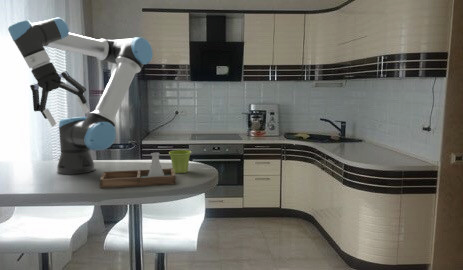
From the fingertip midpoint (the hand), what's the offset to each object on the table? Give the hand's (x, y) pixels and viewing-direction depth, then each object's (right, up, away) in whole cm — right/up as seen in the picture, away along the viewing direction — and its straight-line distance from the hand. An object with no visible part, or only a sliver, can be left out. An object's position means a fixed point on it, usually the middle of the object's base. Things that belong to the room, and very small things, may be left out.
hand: (70, 118), depth 141 cm
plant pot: (+38, -22, +21) cm, 49 cm away
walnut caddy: (+24, -24, +5) cm, 34 cm away
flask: (+31, -23, +6) cm, 39 cm away
